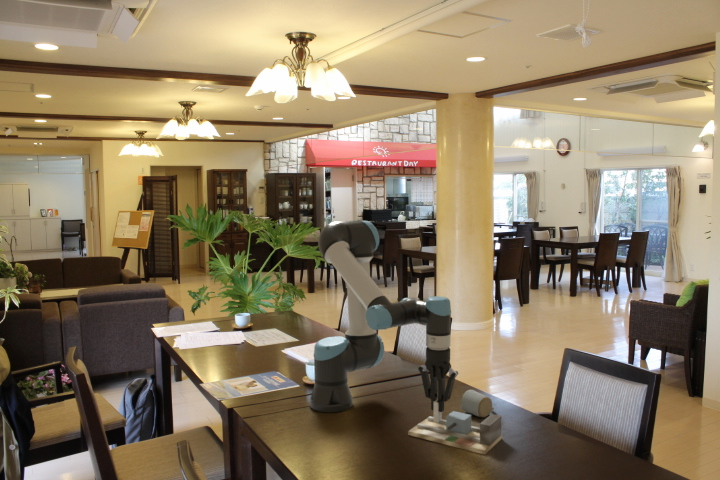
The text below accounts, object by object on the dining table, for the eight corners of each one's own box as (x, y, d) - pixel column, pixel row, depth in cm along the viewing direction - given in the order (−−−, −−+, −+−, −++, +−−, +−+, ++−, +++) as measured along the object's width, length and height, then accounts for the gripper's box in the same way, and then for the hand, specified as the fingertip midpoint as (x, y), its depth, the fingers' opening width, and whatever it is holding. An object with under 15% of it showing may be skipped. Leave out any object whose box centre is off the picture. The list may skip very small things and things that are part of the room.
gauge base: (408, 434, 178) (408, 412, 177) (428, 421, 188) (428, 399, 188) (484, 454, 164) (484, 429, 163) (501, 438, 174) (501, 415, 174)
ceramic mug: (479, 421, 188) (479, 398, 188) (460, 413, 195) (460, 391, 194) (499, 413, 195) (500, 391, 194) (480, 407, 201) (481, 385, 201)
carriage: (439, 436, 173) (439, 420, 173) (453, 426, 181) (453, 411, 180) (458, 441, 169) (458, 424, 169) (471, 430, 177) (471, 415, 177)
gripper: (413, 346, 180) (413, 420, 182) (452, 353, 172) (451, 429, 174) (425, 341, 186) (424, 412, 188) (462, 347, 178) (461, 421, 180)
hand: (437, 420), depth 181 cm, fingers closed
